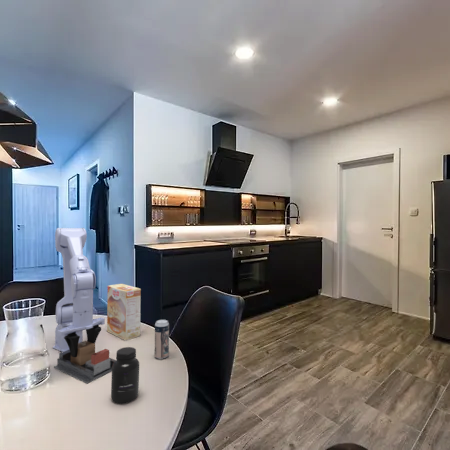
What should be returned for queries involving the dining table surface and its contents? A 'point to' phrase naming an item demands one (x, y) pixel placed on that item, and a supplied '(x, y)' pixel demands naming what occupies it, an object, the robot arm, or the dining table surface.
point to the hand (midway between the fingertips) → (82, 353)
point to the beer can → (161, 339)
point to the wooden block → (83, 353)
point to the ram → (99, 361)
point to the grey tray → (78, 368)
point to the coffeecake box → (123, 311)
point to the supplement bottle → (125, 376)
